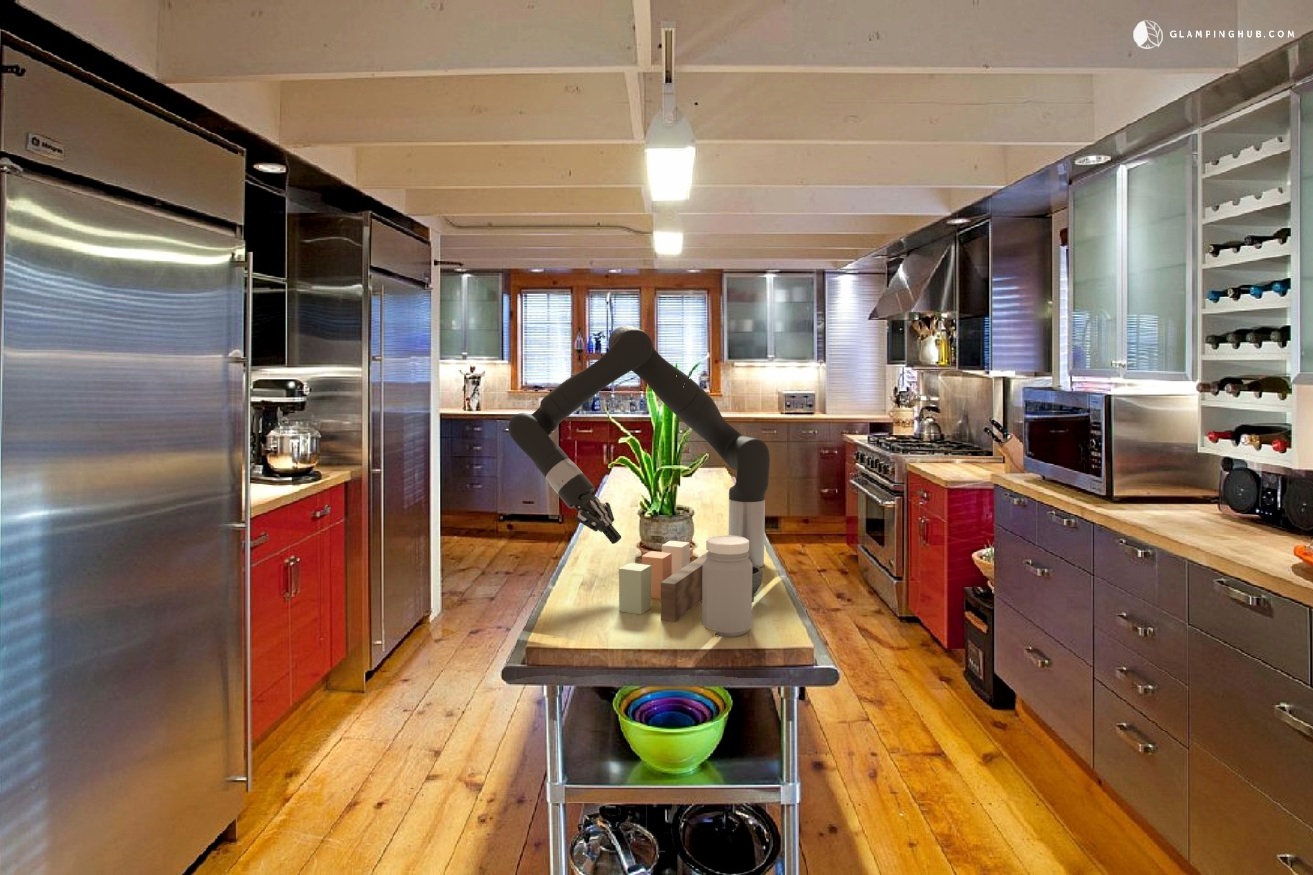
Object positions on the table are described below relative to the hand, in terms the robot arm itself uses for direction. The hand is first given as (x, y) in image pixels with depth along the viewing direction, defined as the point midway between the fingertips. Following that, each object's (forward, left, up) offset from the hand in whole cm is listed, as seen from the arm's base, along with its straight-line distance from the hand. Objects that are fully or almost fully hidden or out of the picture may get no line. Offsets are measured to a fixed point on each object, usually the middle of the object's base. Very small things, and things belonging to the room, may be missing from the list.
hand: (617, 540), depth 172 cm
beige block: (-11, +10, -11) cm, 18 cm away
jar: (+11, +30, -13) cm, 34 cm away
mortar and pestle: (-7, +27, -13) cm, 30 cm away
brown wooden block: (0, +11, -12) cm, 17 cm away
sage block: (+11, +10, -11) cm, 18 cm away
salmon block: (0, +10, -11) cm, 15 cm away
